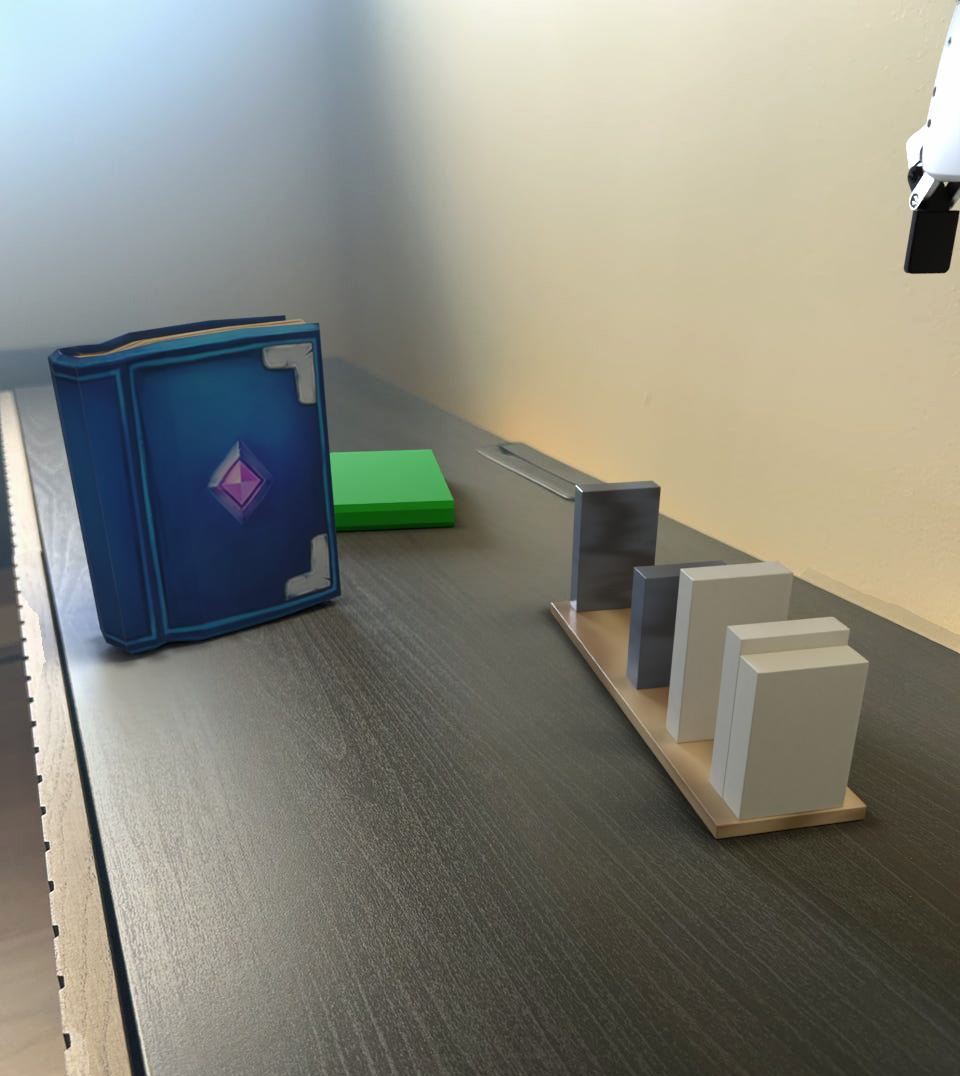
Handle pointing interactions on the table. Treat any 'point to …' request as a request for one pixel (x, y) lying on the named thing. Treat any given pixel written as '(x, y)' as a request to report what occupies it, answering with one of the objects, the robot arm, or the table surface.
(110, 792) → the table surface
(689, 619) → the white book
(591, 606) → the book rack
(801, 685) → the white books
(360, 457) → the green flat slab
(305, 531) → the book
